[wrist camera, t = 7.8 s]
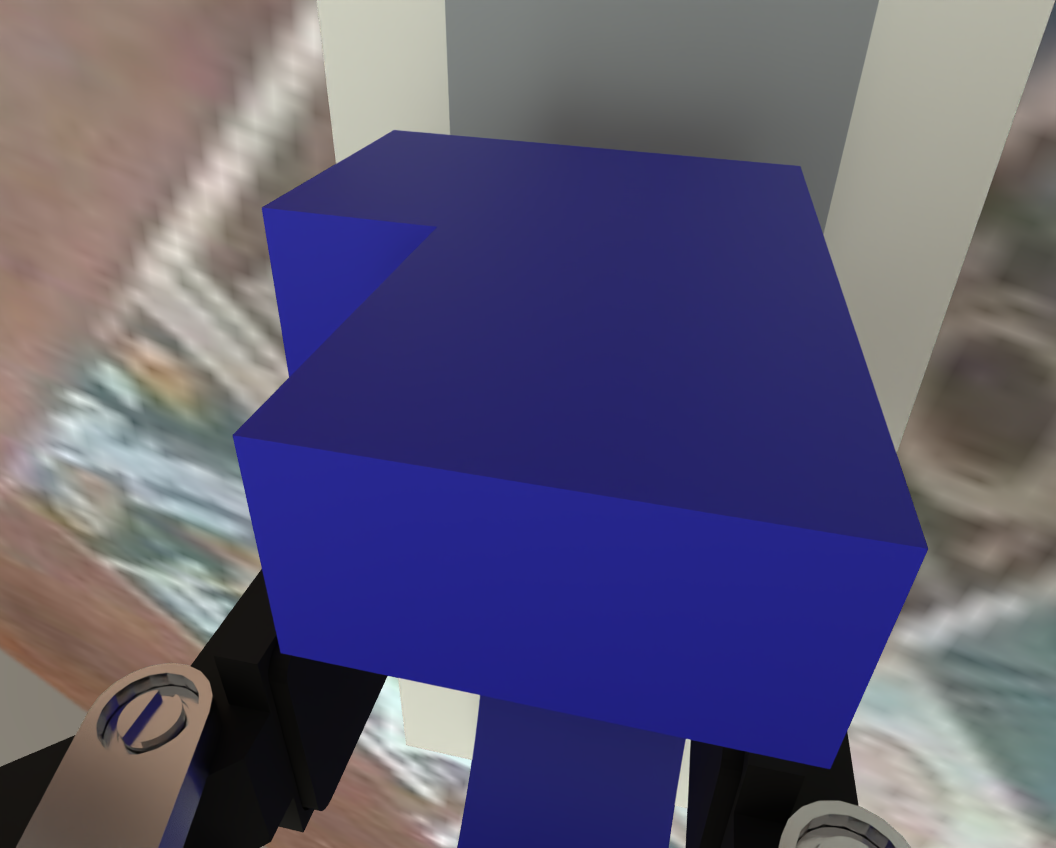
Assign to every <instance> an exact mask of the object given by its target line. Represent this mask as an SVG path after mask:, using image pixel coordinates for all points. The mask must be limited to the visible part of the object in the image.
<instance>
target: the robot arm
mask: <svg viewBox="0 0 1056 848" xmlns="http://www.w3.org/2000/svg"><path fill="white" fill-rule="evenodd" d="M386 678H387V675H382V674H378V673H373V672H368V671H363V670H359V669H354V668H349V667H344V666H340V665H335V664H330V663H326V662H321V661H316V660H311V659H307V658H302V657H297V656H292V655H288V654H283V653H281V652H280V648H279V643H278V639H277V634H276V630H275V625H274V620H273V616H272V611H271V607H270V602H269V598H268V593H267V589H266V584H265V580H264V575H263V571H262V569H261V571H260V572H259V573H258V575H257V576H256V578H255V579H254V580H253V582H252V583H251V584H250V586H249V587H248V588H247V590H246V591H245V593H244V594H243V595H242V597H241V598H240V599H239V601H238V602H237V603H236V605H235V606H234V607H233V609H232V610H231V612H230V613H229V614H228V616H227V617H226V618H225V620H224V621H223V622H222V624H221V625H220V627H219V628H218V629H217V631H216V632H215V633H214V635H213V636H212V637H211V639H210V640H209V642H208V643H207V644H206V646H205V647H204V648H203V650H202V651H201V652H200V654H199V655H198V657H197V658H196V659H195V661H194V662H193V663H192V665H191V666H189V665H184V664H175V663H167V664H159V665H152V666H149V667H146V668H143V669H141V670H138V671H135V672H132V673H131V674H129V675H127V676H126V677H124V678H122V679H120V680H119V681H117V682H115V683H114V684H113V685H112V686H111V687H109V688H108V689H107V690H106V691H105V692H104V693H103V694H101V695H100V696H99V697H98V699H97V700H96V701H95V703H94V704H93V706H92V707H91V708H90V710H89V711H88V713H87V715H86V716H85V718H84V720H83V722H82V724H81V726H80V728H79V730H78V732H77V733H76V735H74V736H72V737H70V738H67V739H65V740H63V741H60V742H58V743H56V744H53V745H51V746H48V747H46V748H44V749H41V750H39V751H37V752H35V753H32V754H29V755H27V756H25V757H23V758H20V759H18V760H15V761H13V762H11V763H8V764H6V765H3V766H1V767H0V848H260V847H262V846H264V845H266V844H268V843H269V842H271V840H272V838H273V836H274V834H275V833H276V831H277V829H278V827H283V828H287V829H291V830H296V831H300V832H304V830H305V828H306V826H307V824H308V822H309V820H310V817H311V815H312V813H313V811H314V810H319V811H323V810H324V809H325V808H326V807H327V806H328V804H329V802H330V800H331V799H332V796H333V794H334V792H335V790H336V788H337V785H338V783H339V781H340V779H341V777H342V774H343V772H344V770H345V768H346V766H347V764H348V761H349V759H350V757H351V755H352V753H353V750H354V748H355V746H356V744H357V742H358V739H359V737H360V735H361V733H362V731H363V729H364V726H365V724H366V722H367V720H368V718H369V715H370V713H371V711H372V709H373V707H374V705H375V702H376V700H377V698H378V696H379V694H380V691H381V689H382V687H383V685H384V683H385V680H386ZM686 848H911V847H910V845H909V844H908V843H907V841H906V840H905V839H904V837H903V836H902V835H901V834H900V833H898V832H897V831H896V830H895V829H894V828H893V827H892V826H890V825H889V824H888V823H887V822H886V821H885V820H884V819H882V818H880V817H879V816H877V815H875V814H873V813H871V812H870V811H868V810H866V809H864V808H863V807H860V806H858V800H857V793H856V786H855V780H854V773H853V767H852V760H851V753H850V747H849V740H848V734H847V732H846V735H845V737H844V739H843V741H842V744H841V746H840V748H839V750H838V753H837V755H836V757H835V759H834V762H833V764H832V766H831V768H830V769H827V768H822V767H817V766H813V765H808V764H803V763H798V762H794V761H789V760H784V759H779V758H775V757H770V756H765V755H761V754H756V753H751V752H746V751H742V750H737V749H732V748H727V747H723V746H718V745H713V744H709V743H704V742H699V741H694V740H691V742H690V764H689V786H688V809H687V831H686Z"/></svg>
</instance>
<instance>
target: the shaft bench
mask: <svg viewBox="0 0 1056 848" xmlns="http://www.w3.org/2000/svg"><path fill="white" fill-rule="evenodd" d="M1054 2H1055V0H317V9H318V17H319V25H320V34H321V42H322V50H323V59H324V67H325V75H326V83H327V92H328V100H329V108H330V117H331V125H332V133H333V141H334V150H335V158H336V164H337V163H338V162H340V161H342V160H344V159H345V158H347V157H349V156H350V155H352V154H354V153H355V152H357V151H359V150H361V149H362V148H364V147H366V146H367V145H369V144H371V143H372V142H374V141H376V140H378V139H379V138H381V137H383V136H384V135H386V134H388V133H389V132H391V131H393V130H401V131H412V132H424V133H435V134H446V135H457V136H469V137H480V138H491V139H502V140H514V141H525V142H536V143H547V144H559V145H570V146H581V147H592V148H604V149H615V150H626V151H637V152H649V153H660V154H671V155H682V156H693V157H705V158H716V159H727V160H738V161H750V162H761V163H772V164H783V165H795V166H801V169H802V172H803V175H804V178H805V181H806V184H807V187H808V190H809V193H810V196H811V199H812V202H813V205H814V208H815V211H816V214H817V217H818V220H819V223H820V226H821V229H822V232H823V235H824V238H825V241H826V244H827V247H828V250H829V253H830V256H831V259H832V262H833V265H834V268H835V271H836V274H837V277H838V280H839V283H840V286H841V289H842V292H843V295H844V298H845V301H846V304H847V307H848V310H849V313H850V316H851V319H852V322H853V325H854V328H855V331H856V334H857V337H858V340H859V343H860V346H861V349H862V352H863V355H864V358H865V361H866V364H867V367H868V370H869V373H870V376H871V379H872V382H873V385H874V388H875V391H876V394H877V397H878V400H879V403H880V406H881V409H882V412H883V415H884V418H885V421H886V424H887V427H888V430H889V433H890V436H891V439H892V442H893V445H894V448H895V451H896V454H897V451H898V448H899V445H900V442H901V439H902V437H903V434H904V431H905V428H906V425H907V422H908V419H909V417H910V414H911V411H912V408H913V405H914V402H915V399H916V397H917V394H918V391H919V388H920V385H921V382H922V379H923V377H924V374H925V371H926V368H927V365H928V362H929V359H930V357H931V354H932V351H933V348H934V345H935V342H936V339H937V337H938V334H939V331H940V328H941V325H942V322H943V319H944V317H945V314H946V311H947V308H948V305H949V302H950V299H951V297H952V294H953V291H954V288H955V285H956V282H957V279H958V277H959V274H960V271H961V268H962V265H963V262H964V259H965V257H966V254H967V251H968V248H969V245H970V242H971V239H972V237H973V234H974V231H975V228H976V225H977V222H978V219H979V217H980V214H981V211H982V208H983V205H984V202H985V199H986V197H987V194H988V191H989V188H990V185H991V182H992V179H993V177H994V174H995V171H996V168H997V165H998V162H999V159H1000V157H1001V154H1002V151H1003V148H1004V145H1005V142H1006V139H1007V137H1008V134H1009V131H1010V128H1011V125H1012V122H1013V119H1014V117H1015V114H1016V111H1017V108H1018V105H1019V102H1020V99H1021V97H1022V94H1023V91H1024V88H1025V85H1026V82H1027V79H1028V77H1029V74H1030V71H1031V68H1032V65H1033V62H1034V59H1035V56H1036V54H1037V51H1038V48H1039V45H1040V42H1041V39H1042V36H1043V34H1044V31H1045V28H1046V25H1047V22H1048V19H1049V16H1050V14H1051V11H1052V8H1053V5H1054ZM398 680H399V689H400V697H401V705H402V714H403V722H404V730H405V739H406V745H408V746H412V747H417V748H421V749H426V750H430V751H435V752H439V753H444V754H448V755H452V756H457V757H461V758H466V759H470V760H472V756H473V749H474V742H475V735H476V726H477V718H478V710H479V700H480V695H477V694H472V693H467V692H463V691H458V690H453V689H448V688H444V687H439V686H434V685H430V684H425V683H420V682H415V681H411V680H406V679H401V678H398ZM690 742H691V740H690V739H686V741H685V747H684V752H683V758H682V764H681V770H680V776H679V782H678V788H677V794H676V801H675V806H679V807H684V808H688V786H689V764H690Z"/></svg>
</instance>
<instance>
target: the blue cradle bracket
mask: <svg viewBox="0 0 1056 848" xmlns="http://www.w3.org/2000/svg"><path fill="white" fill-rule="evenodd" d="M262 212H263V218H264V225H265V231H266V237H267V243H268V249H269V255H270V262H271V268H272V274H273V280H274V286H275V293H276V299H277V305H278V311H279V317H280V323H281V330H282V336H283V342H284V348H285V354H286V360H287V367H288V373H289V378H288V379H287V380H286V381H285V382H284V383H283V384H282V385H281V386H280V387H279V389H278V390H277V391H276V392H275V393H274V394H273V395H272V396H271V397H270V398H269V399H268V400H267V401H266V402H265V403H264V404H263V405H262V406H261V407H260V408H259V409H258V410H257V411H256V412H255V413H254V414H253V415H252V416H251V417H250V418H249V419H248V420H247V421H246V422H245V423H244V424H243V425H242V426H241V427H240V428H239V429H238V430H237V431H236V432H235V433H234V434H233V439H234V444H235V448H236V453H237V457H238V462H239V467H240V471H241V476H242V480H243V485H244V489H245V494H246V498H247V503H248V507H249V512H250V516H251V521H252V525H253V530H254V534H255V539H256V543H257V548H258V553H259V557H260V562H261V566H262V571H263V575H264V580H265V584H266V589H267V593H268V598H269V602H270V607H271V611H272V616H273V620H274V625H275V630H276V634H277V639H278V643H279V648H280V652H281V653H283V654H288V655H292V656H297V657H302V658H307V659H311V660H316V661H321V662H326V663H330V664H335V665H340V666H344V667H349V668H354V669H359V670H363V671H368V672H373V673H378V674H382V675H387V676H392V677H396V678H401V679H406V680H411V681H415V682H420V683H425V684H430V685H434V686H439V687H444V688H448V689H453V690H458V691H463V692H467V693H472V694H477V695H480V700H479V710H478V718H477V726H476V735H475V742H474V749H473V756H472V763H471V771H470V777H469V783H468V789H467V796H466V802H465V808H464V813H463V819H462V825H461V830H460V836H459V841H458V847H457V848H669V841H670V834H671V827H672V820H673V813H674V807H675V801H676V794H677V788H678V782H679V776H680V770H681V764H682V758H683V752H684V747H685V741H686V739H690V740H694V741H699V742H704V743H709V744H713V745H718V746H723V747H727V748H732V749H737V750H742V751H746V752H751V753H756V754H761V755H765V756H770V757H775V758H779V759H784V760H789V761H794V762H798V763H803V764H808V765H813V766H817V767H822V768H827V769H830V768H831V766H832V764H833V762H834V759H835V757H836V755H837V753H838V750H839V748H840V746H841V744H842V741H843V739H844V737H845V735H846V732H847V730H848V728H849V726H850V723H851V721H852V719H853V717H854V714H855V712H856V710H857V708H858V705H859V703H860V701H861V699H862V696H863V694H864V692H865V690H866V687H867V685H868V683H869V681H870V678H871V676H872V674H873V672H874V669H875V667H876V665H877V663H878V661H879V658H880V656H881V654H882V652H883V649H884V647H885V645H886V643H887V640H888V638H889V636H890V634H891V631H892V629H893V627H894V625H895V622H896V620H897V618H898V616H899V613H900V611H901V609H902V607H903V604H904V602H905V600H906V598H907V595H908V593H909V591H910V589H911V586H912V584H913V582H914V580H915V577H916V575H917V573H918V571H919V568H920V566H921V564H922V562H923V559H924V557H925V555H926V553H927V550H928V547H927V544H926V541H925V538H924V535H923V532H922V529H921V526H920V523H919V520H918V517H917V514H916V511H915V508H914V505H913V502H912V499H911V496H910V493H909V490H908V487H907V484H906V481H905V478H904V475H903V472H902V469H901V466H900V463H899V460H898V457H897V454H896V451H895V448H894V445H893V442H892V439H891V436H890V433H889V430H888V427H887V424H886V421H885V418H884V415H883V412H882V409H881V406H880V403H879V400H878V397H877V394H876V391H875V388H874V385H873V382H872V379H871V376H870V373H869V370H868V367H867V364H866V361H865V358H864V355H863V352H862V349H861V346H860V343H859V340H858V337H857V334H856V331H855V328H854V325H853V322H852V319H851V316H850V313H849V310H848V307H847V304H846V301H845V298H844V295H843V292H842V289H841V286H840V283H839V280H838V277H837V274H836V271H835V268H834V265H833V262H832V259H831V256H830V253H829V250H828V247H827V244H826V241H825V238H824V235H823V232H822V229H821V226H820V223H819V220H818V217H817V214H816V211H815V208H814V205H813V202H812V199H811V196H810V193H809V190H808V187H807V184H806V181H805V178H804V175H803V172H802V169H801V166H795V165H783V164H772V163H761V162H750V161H738V160H727V159H716V158H705V157H693V156H682V155H671V154H660V153H649V152H637V151H626V150H615V149H604V148H592V147H581V146H570V145H559V144H547V143H536V142H525V141H514V140H502V139H491V138H480V137H469V136H457V135H446V134H435V133H424V132H412V131H401V130H393V131H391V132H389V133H388V134H386V135H384V136H383V137H381V138H379V139H378V140H376V141H374V142H372V143H371V144H369V145H367V146H366V147H364V148H362V149H361V150H359V151H357V152H355V153H354V154H352V155H350V156H349V157H347V158H345V159H344V160H342V161H340V162H338V163H337V164H335V165H333V166H332V167H330V168H328V169H327V170H325V171H323V172H321V173H320V174H318V175H316V176H315V177H313V178H311V179H310V180H308V181H306V182H304V183H303V184H301V185H299V186H298V187H296V188H294V189H293V190H291V191H289V192H287V193H286V194H284V195H282V196H281V197H279V198H277V199H276V200H274V201H272V202H270V203H269V204H267V205H265V206H264V207H262Z"/></svg>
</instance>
